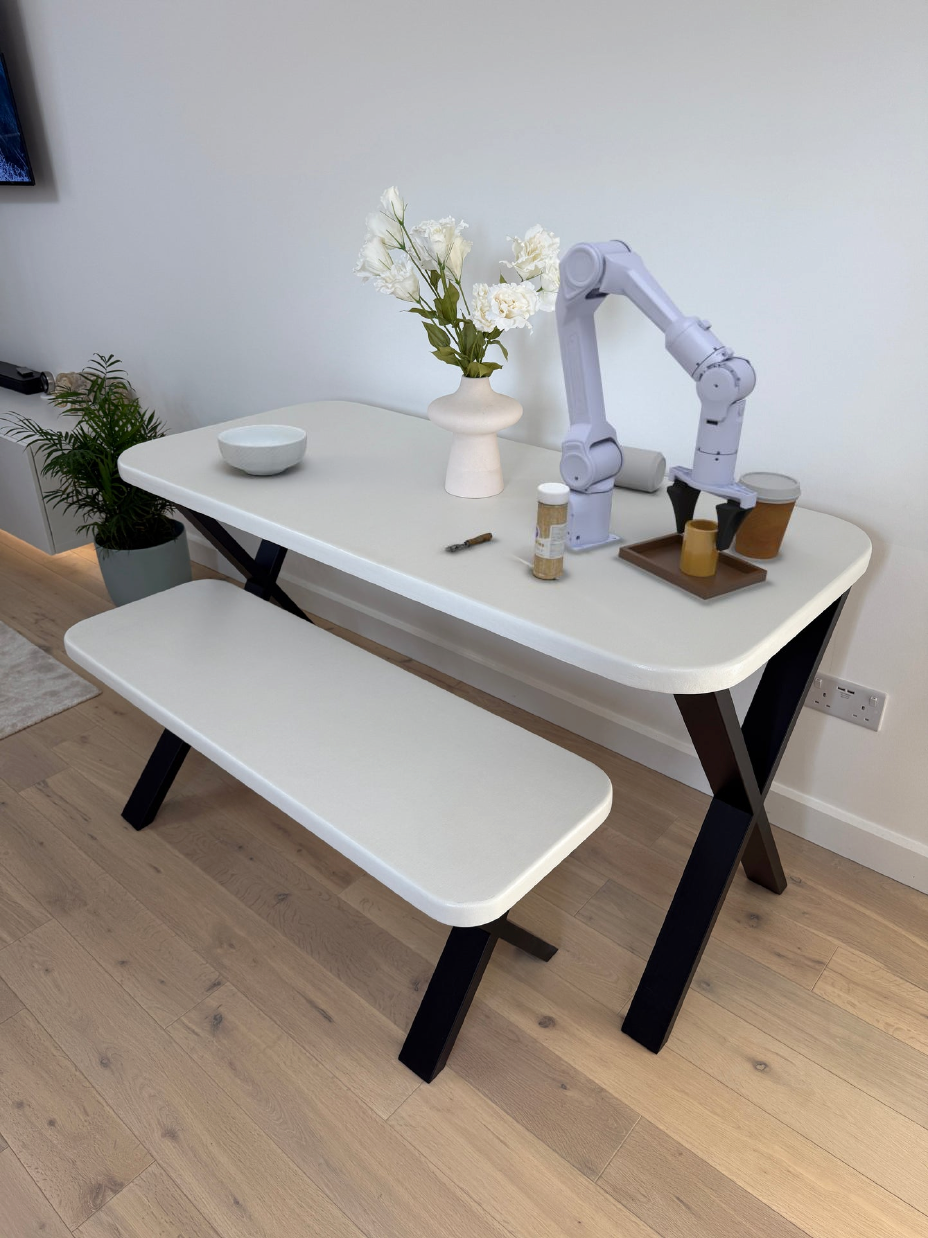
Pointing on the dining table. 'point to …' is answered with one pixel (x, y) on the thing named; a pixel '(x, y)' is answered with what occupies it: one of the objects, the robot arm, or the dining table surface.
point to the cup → (699, 548)
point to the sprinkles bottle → (550, 530)
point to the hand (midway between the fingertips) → (702, 540)
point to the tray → (665, 561)
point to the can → (641, 469)
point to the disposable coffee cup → (766, 514)
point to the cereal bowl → (263, 448)
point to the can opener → (472, 541)
